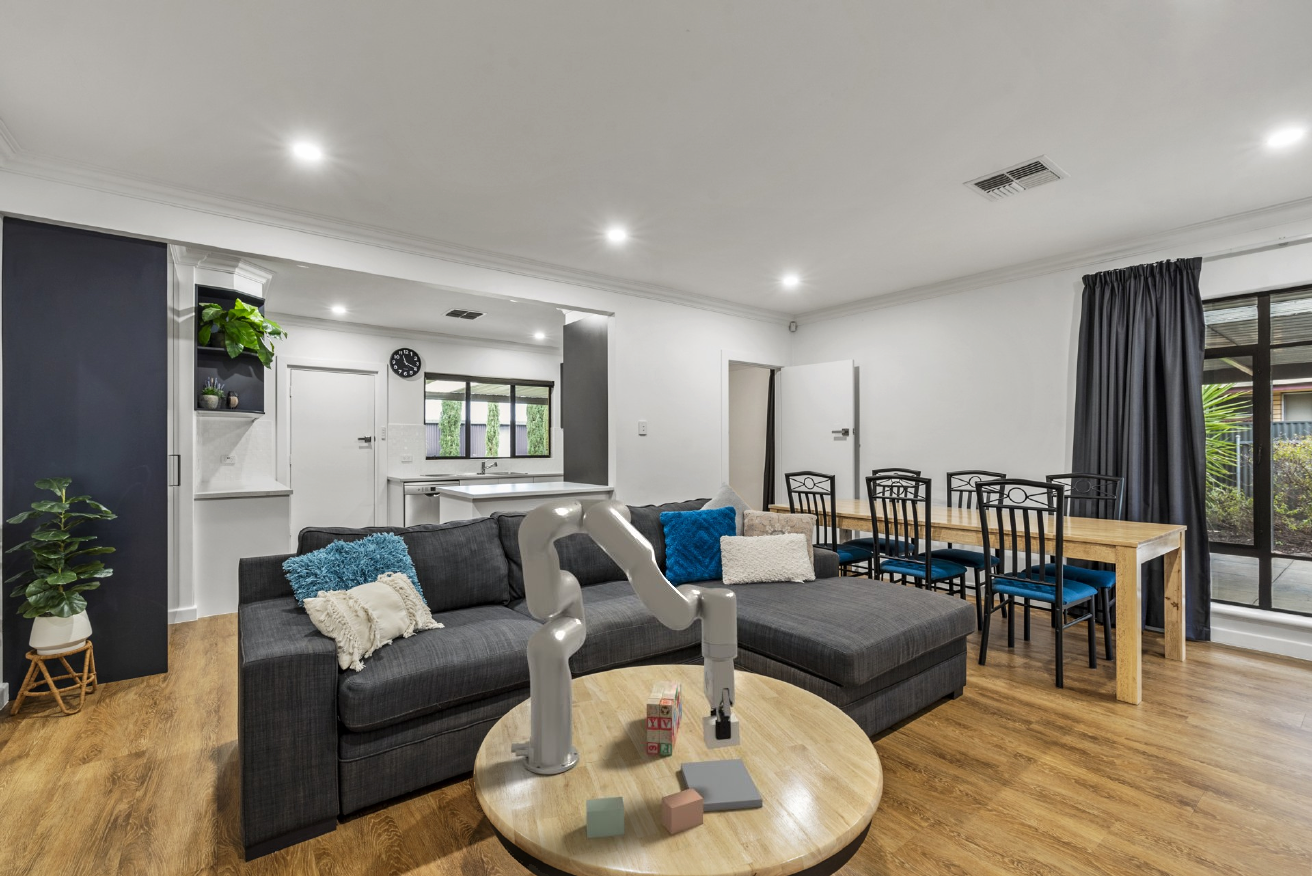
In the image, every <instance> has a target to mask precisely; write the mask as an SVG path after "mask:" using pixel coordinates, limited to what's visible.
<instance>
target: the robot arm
mask: <svg viewBox="0 0 1312 876" xmlns="http://www.w3.org/2000/svg"><path fill="white" fill-rule="evenodd" d="M631 521H632V516H631V511H630V509H629V508H628V506H627V505H626V504H625V503H624V502H622V501H621V500H617V499H611V498H610V499H607V498H604V499H599V498H595V499H594V498H565V499H561V500H556V501H554V500H553V501H550V502H546V503H544V504H541V505H539V506H537V507H536V508H533V509H532V510H530V512H528V513H527V514H526V515H525V517H524V518H523V519H522V521H521V523H520V525H519V527H518V528H519V529H518V533H517V534H518V535H517V538H518V539H517V540H518V547H519V551H520V552H519V553H520V558H521V564H522V577H523V584H524V592H525V599H526V605H527V609H528V611H529V613H530V614H531V616H532V617H534V618H535V619H538V620H549V621H548V622H546V623H544V624H542V625H541V626H540V627H538V628H537V629H536V630H534V632H533V633H532V635H530V636H529V639H528V642H527V644H526V645H527V646H526V657H527V663H528V670H529V681H530V684H529V687H530V692H529V693H530V736H529V740H526V741H525V742H522V743H519V742H517V743H511V744H510V745H511V746H510V753H511V754H512V753H514V754H515V758H516V757H523V765H524V767H525V768H526V769H527V770H528V771H530V772H533V773H535V774H537V775H538V774H540V775H554V774H560V773H563V772H566V771H570V769H572V768H574V767H575V766H576V764H578V762H579V761H580V751H579V750H578V748H576V747H575V746H574V745H573V679H572V678H573V677H572V674H571V670H570V669H571V668H570V666H569V658H570V657H572V655H574V654H575V653H576V652H577V651H578V650H579V649H580V648H581V647H582V646H583V645H584V642H585V640H586V637H587V626H586V624H587V623H586V616H585V608H584V602H583V601H584V600H583V593H582V589H581V585H580V583H579V580H578V579H577V577H575V575H574V574H573V573H571V572H570V571H568V570H566V569H565V570H563V569H561V567H560V558H559V554H558V551H557V549H556V547H555V543H554V542H555V541H556V540H558V539H561V538H563V537H567V536H570V535H572V534H587V535H588V537H590V538H591V539H592V540H593V541H594V542H595V543H596V544H597V545H598V546H599V547H600V548H601V549H602V550H603V551H604V552H605V554H607V555H608V557H610V558H611V559H612V560H613V561H614V562H615V564H617V566H618V567H619V568H620V569H621V570H622V571H623V572H624V573H625V575H626V577H627V580H628V583H629V584H630V586H631V587H632V589H633V591H634V593H635V595H636V597H638V599H639V601H640V602H641V603H642V604H643V605H644V607H645V608H646V609H647V610H648V611H649V612H650V613H651V614H652V615H653V616H654V617H655V618H656V619H657V620H658V621H659V622H660V623H661V624H662V625H664V626H665V627H667V628H669V629H671V630H673V631H674V630H675V631H682V630H686V629H687V628H689V627H690V626H691V625H692V624H693V623H694V621H696V620H697V619H700V620H701V655H702V657H703V658H704V659H703V661H704V662H703V683H702V685H703V687H702V688H703V694H704V696H705V698H706V700H707V702H708V705H710V711H709V713H710V716H717V720H715V733H716V739H717V740H724V739H730V738H731V713H732V712H731V708H733V707H734V706H735V703H736V700H735V699H736V689H735V688H736V687H735V683H736V682H735V666H734V659H735V658H737V657H738V625H737V622H738V621H737V620H738V619H737V618H738V615H737V608H738V607H737V604H738V603H737V596H736V595H737V594H736V593H735V592H734V591H733V590H731V589H729V588H722V587H714V588H710V587H709V588H708V587H703V586H699V585H694V584H681V585H679V586H677V587H674V585H672V584H671V583H670V581H668V579H666V577H665V576H664V575H663V573H662V572H661V570H660V568H659V566H658V564H657V561H656V554H655V550H654V547H653V544H652V543H651V542H650V541H649V540H648V539H647V538H646V537H645V536H644V535H643V534H642V533H641V532H640V531H639V530H638V529H637V528H636V527H635V526H634V525H633V524H632V523H631Z"/></svg>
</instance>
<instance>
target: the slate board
mask: <svg viewBox="0 0 1312 876" xmlns="http://www.w3.org/2000/svg"><path fill="white" fill-rule="evenodd" d="M680 771H681V772H680V773H681V774H682V777H683V780H684V784H685V787H686V790H688V789H691V788H693V789H694V790H695V791H696V792H697V793H698V794H699V795H700V796H701V797H702V798H703V813H704V812H715V811H724V810H726V811H727V810H728V811H729V810H739V809H750V808H751V809H752V808H760V807H761V808H762V807H763V797H762V795H761V794H760V792H759V790H758V788H757V786H756V784H755V782H754V781H753V779H752V776H751V774H750V773H749V771H748V769H747V767H746V765H745V763H744V761H743V760H742V758H734V759H733V758H731V759H718V760H707V761H706V760H705V761H694V762H693V761H691V762H681V763H680Z"/></svg>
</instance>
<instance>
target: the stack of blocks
mask: <svg viewBox="0 0 1312 876" xmlns="http://www.w3.org/2000/svg"><path fill="white" fill-rule="evenodd" d="M682 697H683V694H682V682H681V681H673V680H672V681H666V680H665V681H664V680H658V682H655V683H653V685H652V689H651V692H650V694H649V697H648V699H647V701H646V754H647V755H655V756H656V755H657V756H670V757H672V756H673V752H674V751H675V747H676V742H677V738H678V732H679V728H680V725H681V721H682V716H683V715H682V712H683V711H682V710H683V702H682V701H683V700H682Z"/></svg>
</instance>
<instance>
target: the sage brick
mask: <svg viewBox="0 0 1312 876" xmlns="http://www.w3.org/2000/svg"><path fill="white" fill-rule="evenodd" d="M585 801H586V803H585V804H586V805H585V806H586V808H585V809H586V810H585V811H586V812H585V813H586V816H585V817H586V824H585V825H586V837H587V839H592V838H605V837H613V836H624V835H625V805H624V798H623V796H614V797H613V796H612V797H602V798H601V797H599V798H590V799H589V798H588V799H586V800H585Z"/></svg>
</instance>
